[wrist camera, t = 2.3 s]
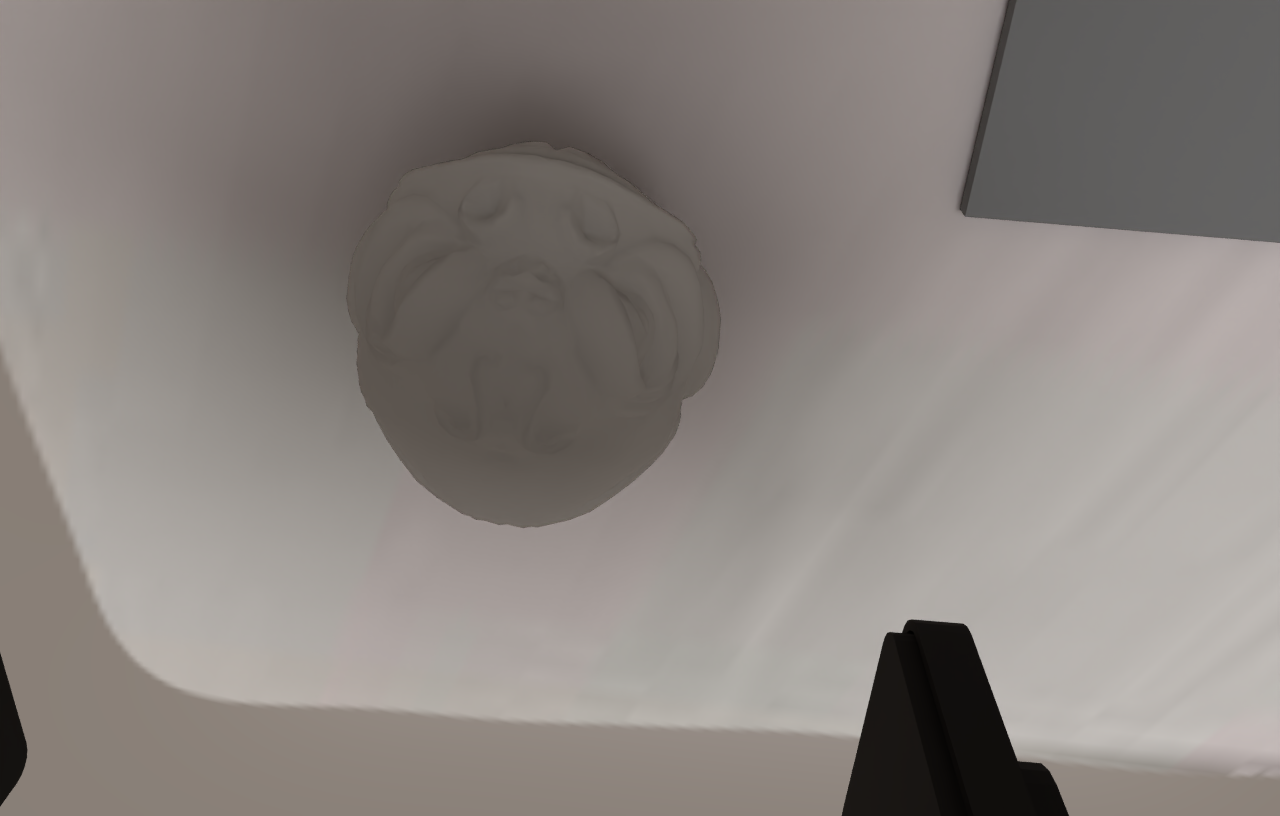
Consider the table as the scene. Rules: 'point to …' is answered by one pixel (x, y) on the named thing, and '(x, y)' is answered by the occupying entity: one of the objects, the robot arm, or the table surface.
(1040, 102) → the slate mat
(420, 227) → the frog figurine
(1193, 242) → the table surface
